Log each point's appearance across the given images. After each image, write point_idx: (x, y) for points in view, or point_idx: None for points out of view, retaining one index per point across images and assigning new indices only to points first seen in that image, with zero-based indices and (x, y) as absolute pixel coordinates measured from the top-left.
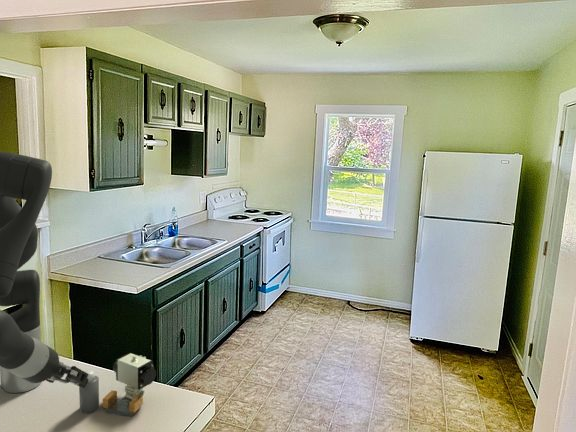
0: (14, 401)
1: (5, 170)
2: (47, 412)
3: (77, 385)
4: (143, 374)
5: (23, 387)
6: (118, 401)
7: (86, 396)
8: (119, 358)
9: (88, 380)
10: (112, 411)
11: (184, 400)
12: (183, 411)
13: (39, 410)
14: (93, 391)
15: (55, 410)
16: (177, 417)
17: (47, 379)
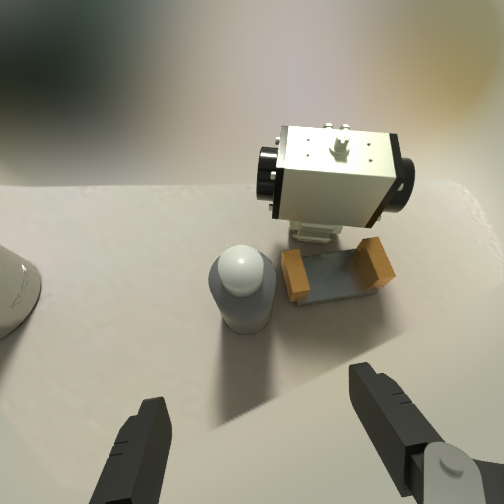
0: (16, 374)
1: None
2: (150, 374)
3: (380, 453)
4: (402, 191)
5: (3, 325)
6: (305, 265)
7: (258, 318)
8: (282, 160)
9: (386, 376)
10: (320, 301)
11: (423, 199)
12: (458, 229)
13: (120, 376)
14: (272, 298)
15: (165, 356)
16: (468, 252)
17: (156, 499)
